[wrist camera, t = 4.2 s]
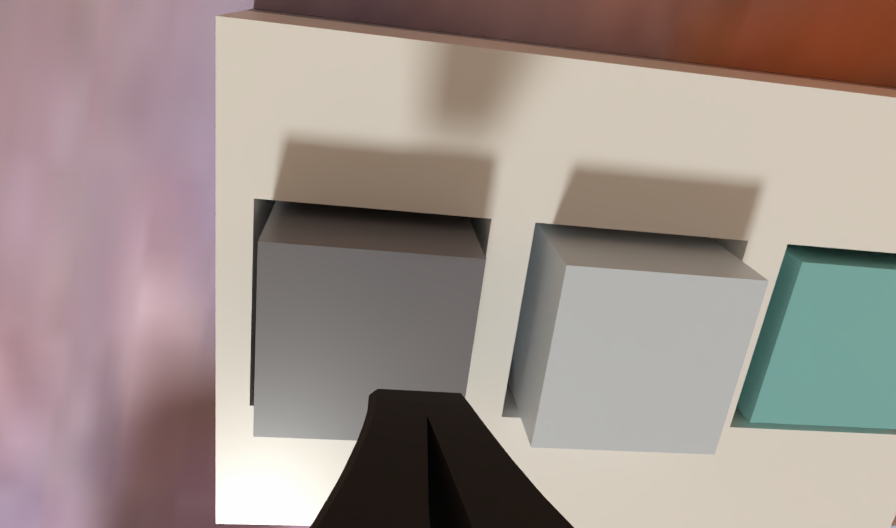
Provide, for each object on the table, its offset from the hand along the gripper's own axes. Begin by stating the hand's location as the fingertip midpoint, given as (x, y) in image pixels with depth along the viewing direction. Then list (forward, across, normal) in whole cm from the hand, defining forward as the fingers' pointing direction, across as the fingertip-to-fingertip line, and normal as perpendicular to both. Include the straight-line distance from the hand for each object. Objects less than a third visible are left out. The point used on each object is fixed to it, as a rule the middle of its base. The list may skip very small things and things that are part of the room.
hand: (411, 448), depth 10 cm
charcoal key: (+6, +1, 0) cm, 6 cm away
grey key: (+6, -5, 0) cm, 8 cm away
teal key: (+8, -10, 0) cm, 13 cm away
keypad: (+8, -5, 0) cm, 10 cm away
